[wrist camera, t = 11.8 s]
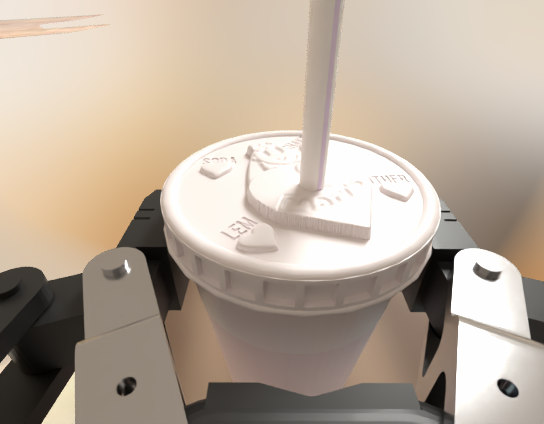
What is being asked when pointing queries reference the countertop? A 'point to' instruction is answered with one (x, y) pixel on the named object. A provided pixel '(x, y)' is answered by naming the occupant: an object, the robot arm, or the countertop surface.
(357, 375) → the plinth
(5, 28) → the countertop surface
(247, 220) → the smoothie
